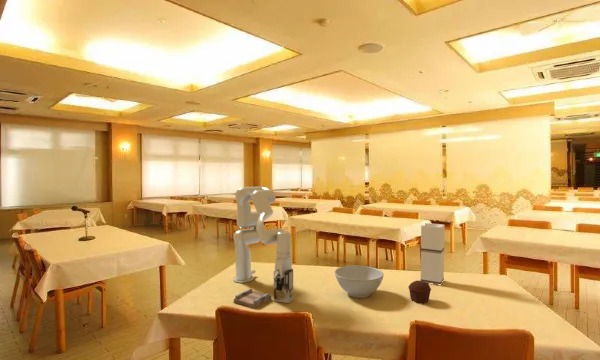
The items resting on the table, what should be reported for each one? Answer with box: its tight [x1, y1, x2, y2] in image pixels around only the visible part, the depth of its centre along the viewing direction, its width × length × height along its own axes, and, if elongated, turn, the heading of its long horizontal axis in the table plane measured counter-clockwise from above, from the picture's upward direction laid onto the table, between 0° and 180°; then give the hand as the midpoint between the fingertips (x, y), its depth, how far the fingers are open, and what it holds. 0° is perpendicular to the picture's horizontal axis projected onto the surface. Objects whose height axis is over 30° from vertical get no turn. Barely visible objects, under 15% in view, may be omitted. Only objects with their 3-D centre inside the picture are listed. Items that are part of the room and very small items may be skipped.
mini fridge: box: [420, 222, 445, 284], centre depth 206 cm, size 11×11×35 cm
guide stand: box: [233, 288, 272, 309], centre depth 178 cm, size 14×14×4 cm
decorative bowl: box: [334, 264, 384, 299], centre depth 188 cm, size 27×27×12 cm
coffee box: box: [273, 269, 294, 304], centre depth 179 cm, size 9×6×16 cm
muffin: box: [408, 280, 432, 304], centre depth 178 cm, size 12×11×10 cm
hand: (283, 287), depth 179 cm, fingers closed on coffee box, 7 cm apart
